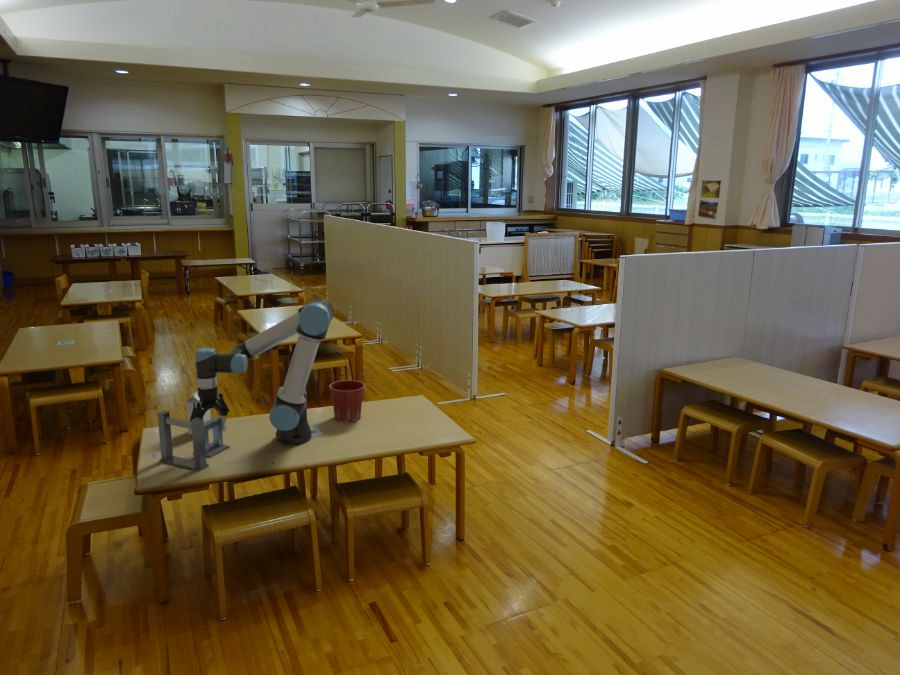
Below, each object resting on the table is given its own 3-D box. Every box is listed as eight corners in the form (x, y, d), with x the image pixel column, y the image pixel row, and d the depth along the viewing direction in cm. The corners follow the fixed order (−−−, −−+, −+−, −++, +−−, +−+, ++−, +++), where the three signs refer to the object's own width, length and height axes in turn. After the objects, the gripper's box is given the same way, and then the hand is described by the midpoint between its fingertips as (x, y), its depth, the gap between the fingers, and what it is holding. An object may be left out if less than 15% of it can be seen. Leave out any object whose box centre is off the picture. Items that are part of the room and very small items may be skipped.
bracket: (217, 443, 269) (215, 417, 266) (223, 445, 268) (221, 418, 265) (199, 452, 260) (197, 425, 257) (205, 454, 259) (203, 426, 256)
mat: (229, 447, 267) (229, 446, 267) (210, 457, 257) (210, 456, 257) (212, 443, 270) (212, 442, 270) (193, 453, 261) (193, 452, 260)
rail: (208, 466, 250) (205, 417, 245) (199, 471, 245) (195, 422, 240) (169, 456, 257) (165, 409, 252) (159, 461, 253) (155, 413, 248)
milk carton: (211, 429, 285) (208, 389, 280) (204, 436, 278) (201, 394, 273) (196, 428, 286) (193, 388, 281) (188, 435, 279) (185, 393, 274)
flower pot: (339, 409, 313) (338, 378, 309) (370, 413, 309) (370, 382, 305) (324, 421, 298) (323, 388, 294) (356, 426, 294) (356, 392, 290)
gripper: (221, 376, 270) (224, 424, 275) (176, 394, 247) (180, 445, 253) (236, 379, 267) (238, 427, 272) (191, 397, 245) (195, 448, 250)
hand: (210, 436), depth 262 cm, fingers open, 13 cm apart
